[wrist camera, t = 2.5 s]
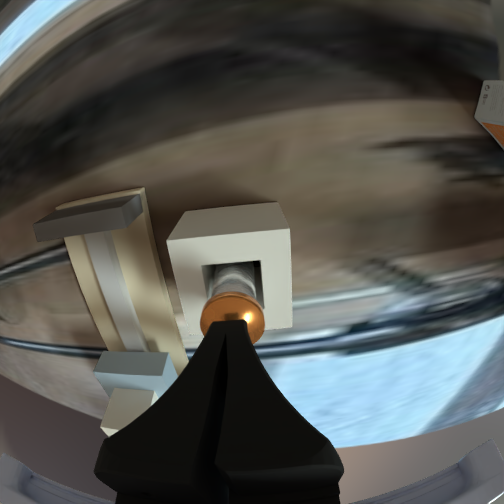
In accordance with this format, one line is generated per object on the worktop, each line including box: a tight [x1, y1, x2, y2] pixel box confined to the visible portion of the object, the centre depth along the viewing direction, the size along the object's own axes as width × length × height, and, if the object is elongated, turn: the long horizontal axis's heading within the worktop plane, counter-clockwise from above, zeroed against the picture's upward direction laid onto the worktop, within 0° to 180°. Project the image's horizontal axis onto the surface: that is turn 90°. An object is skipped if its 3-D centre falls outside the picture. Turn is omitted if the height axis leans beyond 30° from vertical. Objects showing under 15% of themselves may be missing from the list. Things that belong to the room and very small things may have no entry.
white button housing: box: [166, 202, 292, 335], centre depth 17 cm, size 6×6×5 cm
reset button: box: [200, 261, 265, 344], centre depth 15 cm, size 3×3×6 cm
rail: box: [33, 187, 189, 376], centre depth 20 cm, size 20×7×4 cm, turn 5°
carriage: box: [93, 351, 178, 436], centre depth 19 cm, size 6×6×6 cm
